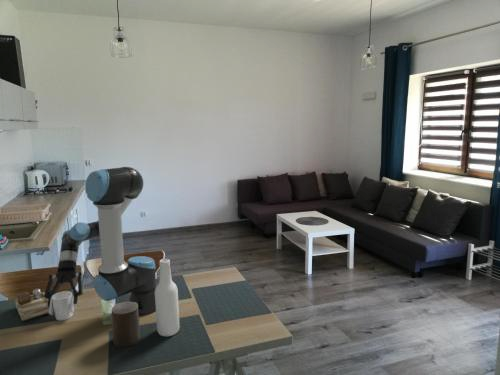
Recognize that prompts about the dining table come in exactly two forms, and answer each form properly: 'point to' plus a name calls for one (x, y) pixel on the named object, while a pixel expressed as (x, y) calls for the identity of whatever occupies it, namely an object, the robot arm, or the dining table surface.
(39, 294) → the metal stub
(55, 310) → the white cup
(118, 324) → the pillar candle
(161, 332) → the alcohol
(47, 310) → the wooden tray
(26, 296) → the walnut block
